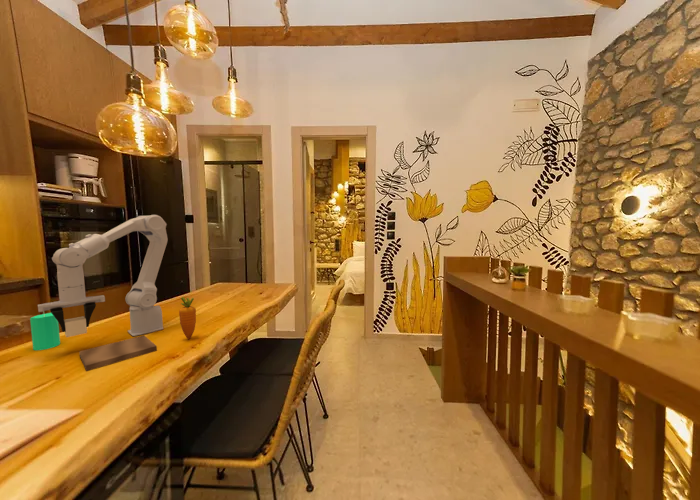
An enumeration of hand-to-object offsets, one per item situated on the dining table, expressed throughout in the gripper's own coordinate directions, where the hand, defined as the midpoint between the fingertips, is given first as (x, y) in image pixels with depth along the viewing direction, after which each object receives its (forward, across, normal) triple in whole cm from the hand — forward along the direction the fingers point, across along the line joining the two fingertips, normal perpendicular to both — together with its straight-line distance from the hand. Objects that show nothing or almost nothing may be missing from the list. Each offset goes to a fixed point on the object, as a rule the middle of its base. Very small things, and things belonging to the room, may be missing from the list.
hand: (75, 328), depth 85 cm
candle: (+7, +6, -13) cm, 16 cm away
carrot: (+7, -26, +18) cm, 32 cm away
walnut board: (+7, -8, +13) cm, 17 cm away
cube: (+2, 0, 0) cm, 2 cm away
